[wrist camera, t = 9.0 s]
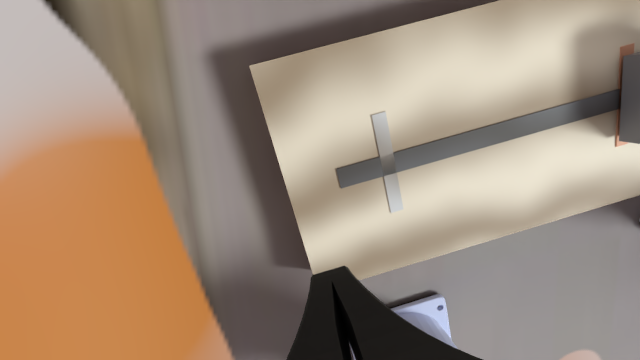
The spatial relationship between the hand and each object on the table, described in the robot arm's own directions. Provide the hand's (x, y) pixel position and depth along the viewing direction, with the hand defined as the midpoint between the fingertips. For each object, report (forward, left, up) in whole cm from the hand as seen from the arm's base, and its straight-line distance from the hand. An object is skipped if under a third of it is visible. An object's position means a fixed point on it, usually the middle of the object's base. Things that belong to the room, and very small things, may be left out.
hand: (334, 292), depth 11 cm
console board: (+2, -12, -9) cm, 15 cm away
